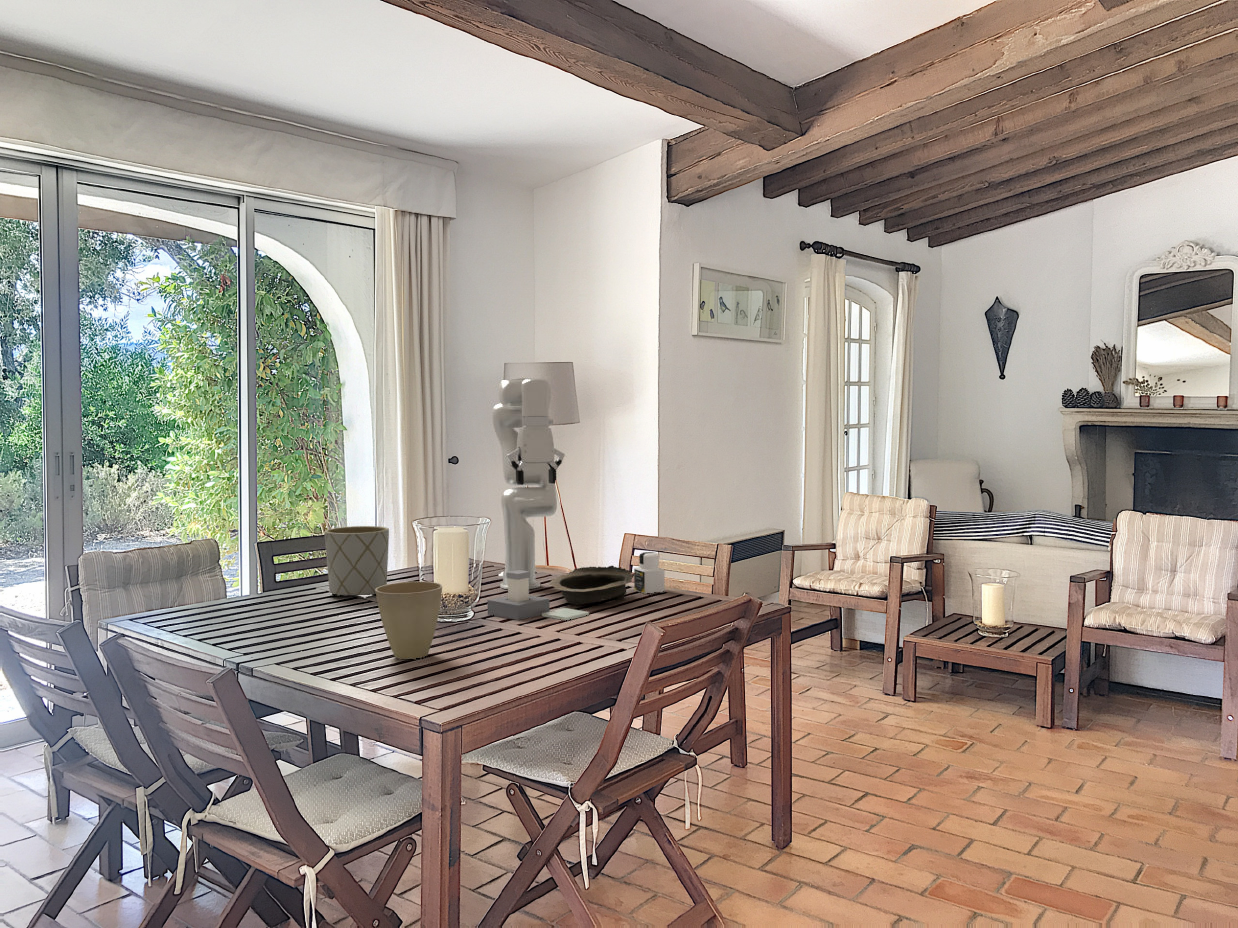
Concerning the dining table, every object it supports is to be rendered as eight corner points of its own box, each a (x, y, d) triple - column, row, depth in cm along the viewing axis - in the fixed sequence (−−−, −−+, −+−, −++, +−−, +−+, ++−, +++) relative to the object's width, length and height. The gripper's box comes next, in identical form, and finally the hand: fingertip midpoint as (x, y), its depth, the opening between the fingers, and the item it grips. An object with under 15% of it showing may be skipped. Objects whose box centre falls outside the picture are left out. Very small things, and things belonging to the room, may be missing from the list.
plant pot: (415, 645, 231) (414, 578, 230) (457, 654, 222) (455, 585, 221) (363, 657, 220) (361, 588, 219) (404, 668, 210) (403, 595, 209)
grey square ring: (487, 614, 266) (487, 599, 266) (519, 607, 275) (518, 593, 275) (518, 620, 258) (518, 605, 258) (549, 612, 267) (549, 598, 267)
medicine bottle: (633, 590, 300) (633, 551, 299) (654, 588, 303) (654, 550, 302) (644, 594, 294) (643, 554, 293) (665, 592, 296) (664, 553, 296)
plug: (506, 613, 266) (506, 572, 266) (518, 611, 270) (518, 569, 269) (518, 616, 263) (518, 573, 263) (530, 613, 267) (530, 571, 266)
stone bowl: (637, 593, 294) (637, 563, 293) (630, 616, 270) (630, 584, 268) (557, 591, 297) (557, 561, 295) (543, 614, 272) (542, 582, 271)
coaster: (542, 616, 263) (542, 613, 263) (564, 610, 270) (564, 607, 270) (566, 620, 257) (566, 617, 257) (588, 614, 264) (588, 611, 264)
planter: (313, 598, 291) (311, 532, 290) (348, 587, 309) (347, 525, 308) (369, 601, 285) (367, 534, 284) (401, 589, 304) (400, 526, 303)
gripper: (557, 423, 279) (558, 482, 280) (501, 423, 271) (502, 484, 271) (568, 422, 273) (569, 483, 273) (511, 423, 264) (512, 485, 265)
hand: (536, 484), depth 272 cm, fingers open, 9 cm apart
